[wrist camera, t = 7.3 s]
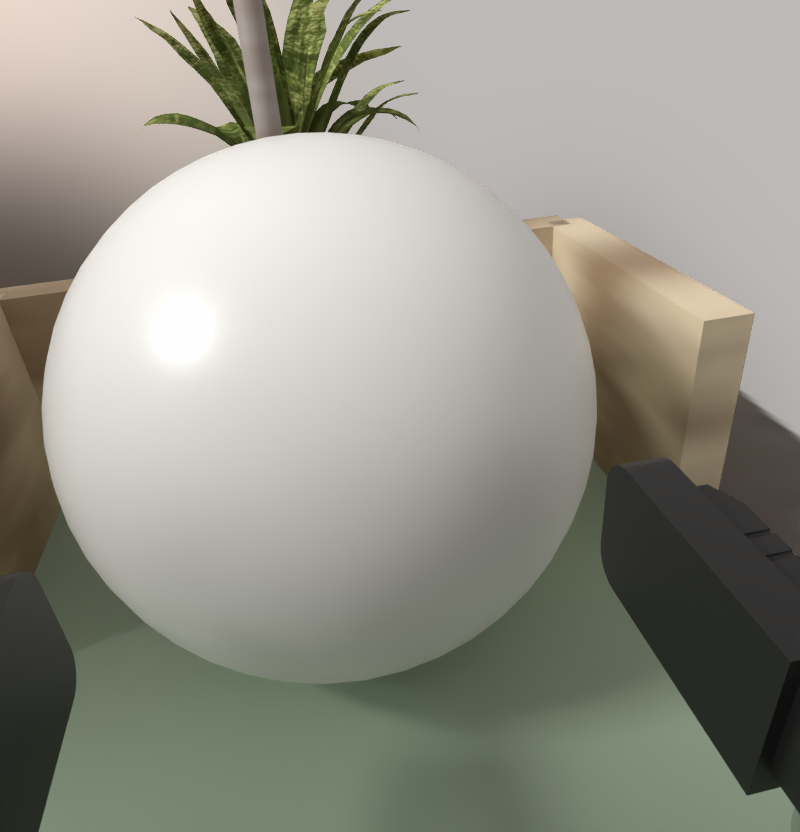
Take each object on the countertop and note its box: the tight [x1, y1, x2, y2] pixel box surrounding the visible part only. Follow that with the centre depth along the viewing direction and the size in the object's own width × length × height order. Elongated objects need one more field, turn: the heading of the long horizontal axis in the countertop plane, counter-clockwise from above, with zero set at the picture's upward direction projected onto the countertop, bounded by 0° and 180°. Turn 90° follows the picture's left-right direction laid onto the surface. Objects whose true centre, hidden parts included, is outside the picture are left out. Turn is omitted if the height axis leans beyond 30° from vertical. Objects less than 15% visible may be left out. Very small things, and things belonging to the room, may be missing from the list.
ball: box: [41, 132, 597, 684], centre depth 14 cm, size 11×11×11 cm
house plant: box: [137, 0, 417, 146], centre depth 30 cm, size 14×14×16 cm
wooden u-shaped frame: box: [0, 0, 755, 576], centre depth 16 cm, size 11×19×20 cm, turn 101°
